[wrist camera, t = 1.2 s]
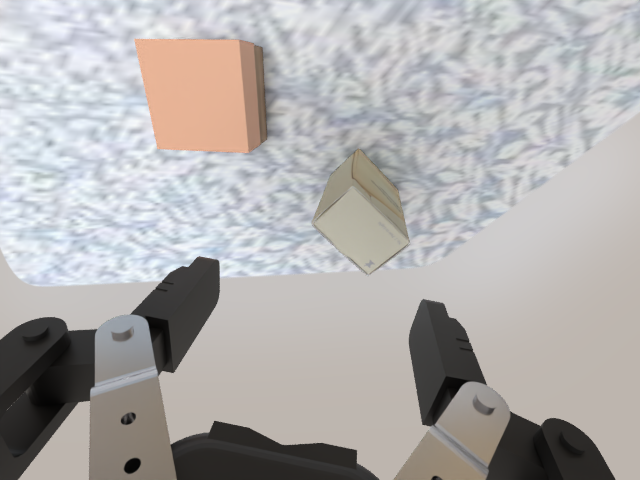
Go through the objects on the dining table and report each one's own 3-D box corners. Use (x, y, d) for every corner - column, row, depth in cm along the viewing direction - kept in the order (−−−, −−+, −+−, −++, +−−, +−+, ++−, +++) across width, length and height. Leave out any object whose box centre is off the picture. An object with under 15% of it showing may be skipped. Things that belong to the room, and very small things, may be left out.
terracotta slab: (253, 43, 26) (238, 39, 23) (260, 144, 30) (248, 152, 27) (160, 42, 27) (134, 38, 24) (178, 141, 31) (157, 149, 28)
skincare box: (398, 189, 34) (416, 245, 23) (366, 216, 35) (369, 279, 25) (357, 145, 32) (354, 182, 21) (325, 176, 34) (309, 225, 23)
